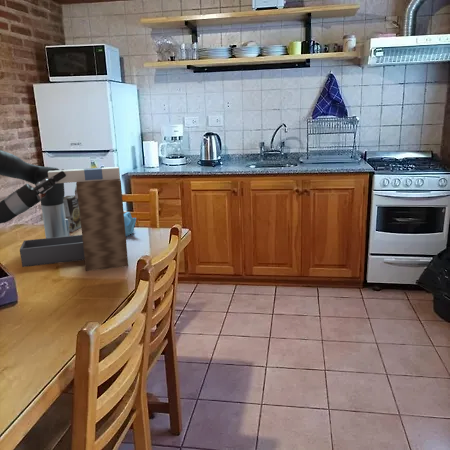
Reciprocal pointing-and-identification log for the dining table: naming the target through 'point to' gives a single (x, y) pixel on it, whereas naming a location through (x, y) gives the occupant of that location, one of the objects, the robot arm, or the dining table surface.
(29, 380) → the dining table surface
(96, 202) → the brown zigzag patterned box
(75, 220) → the coffee box
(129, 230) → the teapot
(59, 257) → the tray
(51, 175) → the spaghetti box
